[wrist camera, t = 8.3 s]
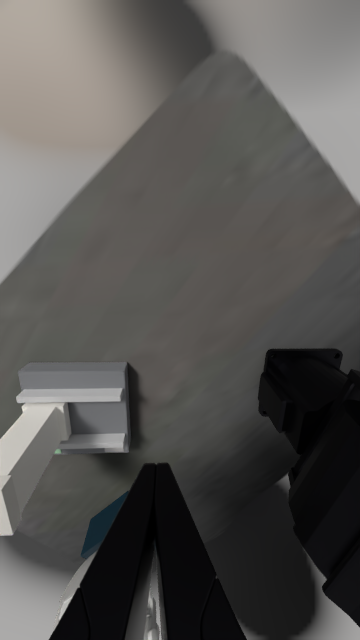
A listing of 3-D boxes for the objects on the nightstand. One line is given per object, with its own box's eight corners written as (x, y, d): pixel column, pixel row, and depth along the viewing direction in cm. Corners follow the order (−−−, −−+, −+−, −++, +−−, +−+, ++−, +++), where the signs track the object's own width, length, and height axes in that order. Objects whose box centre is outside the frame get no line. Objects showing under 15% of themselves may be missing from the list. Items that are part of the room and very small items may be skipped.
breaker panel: (127, 362, 20) (121, 377, 17) (131, 439, 22) (126, 462, 20) (28, 362, 19) (9, 378, 17) (43, 441, 22) (27, 465, 19)
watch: (133, 546, 26) (111, 743, 16) (77, 510, 24) (10, 708, 14) (170, 520, 26) (172, 710, 15) (115, 481, 24) (74, 668, 13)
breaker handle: (67, 399, 19) (7, 489, 12) (71, 432, 20) (18, 534, 13) (27, 400, 19) (-57, 491, 12) (34, 433, 19) (-41, 537, 12)
